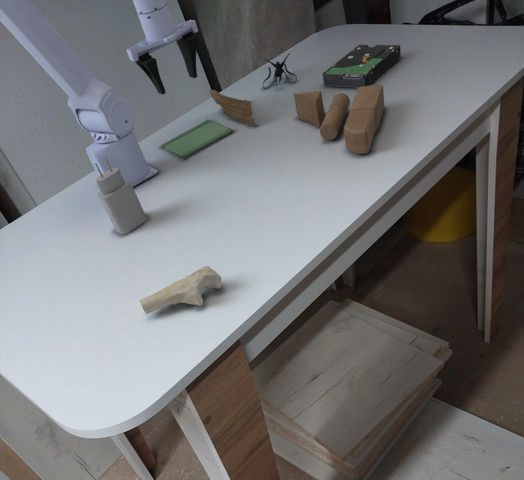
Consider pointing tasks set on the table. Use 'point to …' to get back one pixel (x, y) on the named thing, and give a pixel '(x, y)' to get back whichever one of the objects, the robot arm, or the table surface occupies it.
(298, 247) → the table surface
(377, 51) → the disk drive
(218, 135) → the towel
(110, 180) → the power adapter
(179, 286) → the bone fragment
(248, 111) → the wood plank
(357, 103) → the wooden block set
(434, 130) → the table surface
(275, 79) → the creature
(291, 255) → the table surface
